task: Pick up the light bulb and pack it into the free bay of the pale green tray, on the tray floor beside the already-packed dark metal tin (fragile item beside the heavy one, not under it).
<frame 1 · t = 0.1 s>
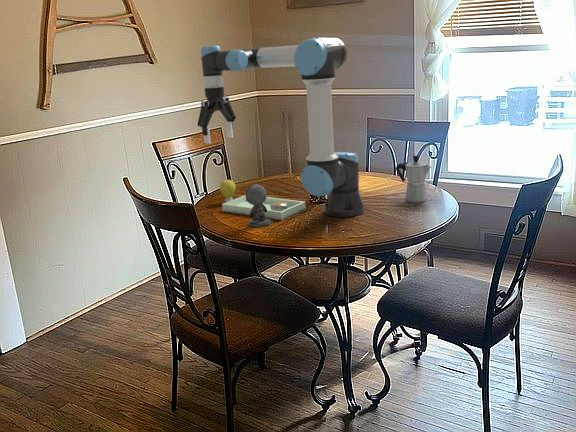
hand: (219, 140, 235), 28 cm above the table, fingers open, 13 cm apart
figurine: (259, 224, 217), on the table
tin: (279, 210, 229), point 1 cm above the table, touching pale green tray
coffee maker: (413, 200, 235), on the table
pale green tray: (263, 210, 234), on the table
light bulb: (229, 203, 248), on the table
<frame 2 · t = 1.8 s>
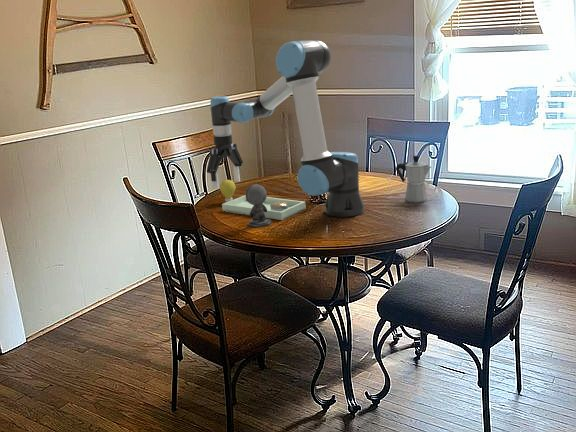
hand: (226, 184, 246), 8 cm above the table, fingers open, 13 cm apart
nothing on the table moved.
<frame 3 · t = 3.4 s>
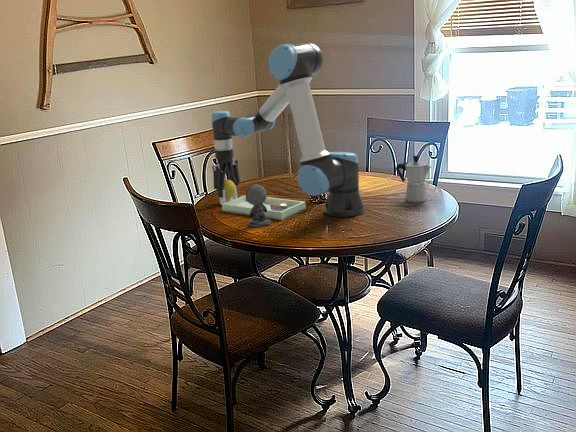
hand: (228, 202, 248), 0 cm above the table, fingers closed on light bulb, 7 cm apart
light bulb: (229, 203, 249), on the table, touching gripper
everything else where it was.
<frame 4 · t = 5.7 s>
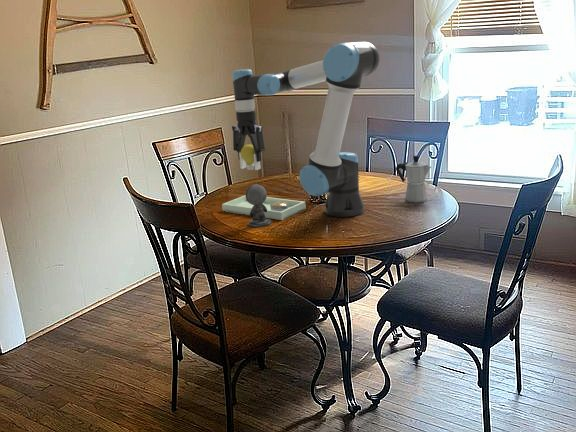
hand: (250, 168, 232), 17 cm above the table, fingers closed on light bulb, 7 cm apart
light bulb: (250, 169, 232), point 16 cm above the table, touching gripper
everything else where it was.
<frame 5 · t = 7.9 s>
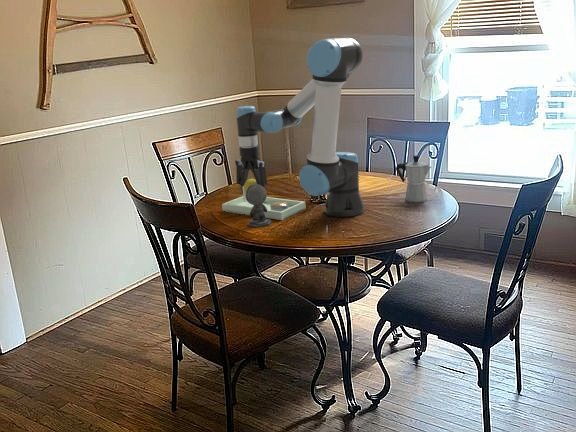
hand: (253, 202, 236), 3 cm above the table, fingers closed on light bulb, 7 cm apart
light bulb: (253, 203, 236), point 2 cm above the table, touching gripper
everything else where it was.
when the fingers open (3 cm above the table, at t = 8.1 s): light bulb drops 2 cm, resting on pale green tray.
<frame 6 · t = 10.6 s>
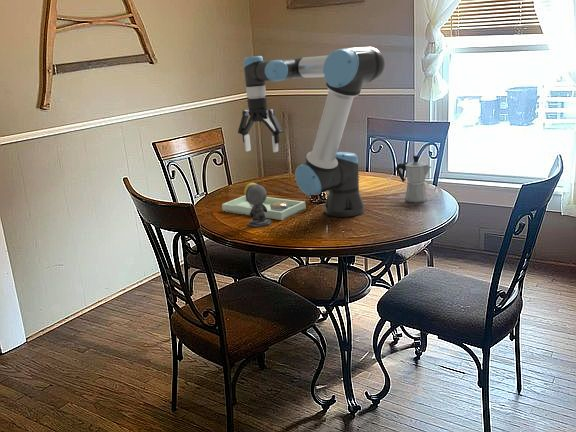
hand: (261, 151, 232), 23 cm above the table, fingers open, 13 cm apart
light bulb: (253, 207, 237), point 1 cm above the table, touching pale green tray
everything else where it was.
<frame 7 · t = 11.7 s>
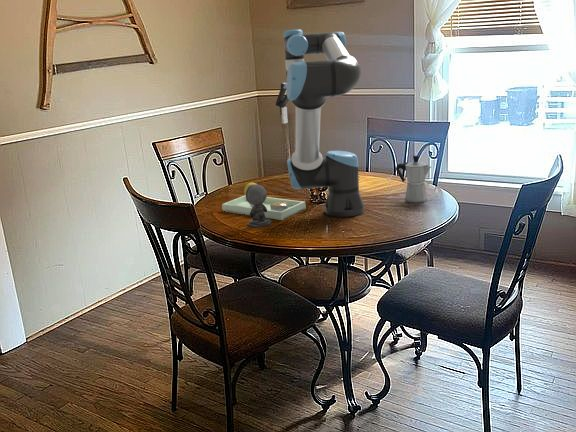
hand: (298, 123, 238), 32 cm above the table, fingers open, 13 cm apart
nothing on the table moved.
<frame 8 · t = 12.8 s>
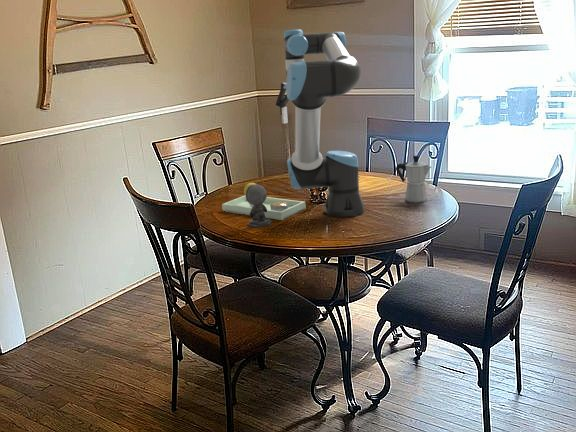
hand: (298, 123, 238), 32 cm above the table, fingers open, 13 cm apart
nothing on the table moved.
at the end: light bulb inside the target area on the pale green tray (0.7 cm from its centre), point 0.6 cm above the pale green tray's base; the gripper is holding nothing; tin moved 0.0 cm from its start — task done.
